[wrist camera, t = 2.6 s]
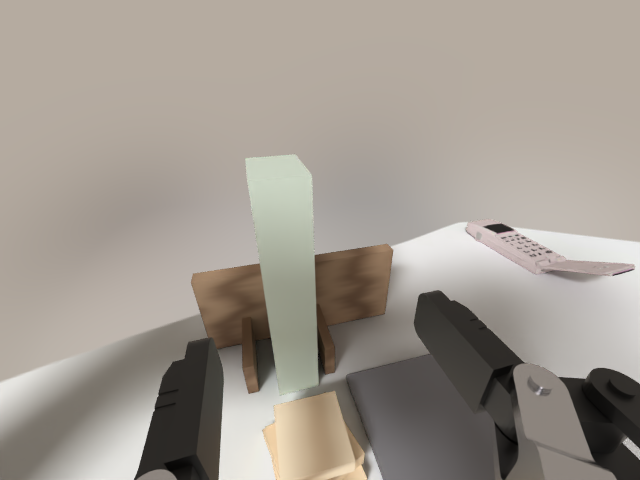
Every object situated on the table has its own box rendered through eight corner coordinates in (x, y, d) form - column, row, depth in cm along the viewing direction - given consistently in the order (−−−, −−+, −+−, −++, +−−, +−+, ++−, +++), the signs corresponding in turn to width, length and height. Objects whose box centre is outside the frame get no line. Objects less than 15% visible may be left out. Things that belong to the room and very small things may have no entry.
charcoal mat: (420, 580, 17) (421, 577, 17) (346, 378, 29) (346, 374, 29) (591, 504, 20) (595, 501, 20) (461, 349, 32) (462, 345, 32)
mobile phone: (610, 275, 34) (462, 202, 55) (587, 310, 37) (454, 228, 58) (640, 266, 36) (486, 199, 57) (616, 301, 39) (477, 224, 60)
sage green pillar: (279, 395, 28) (247, 181, 17) (273, 347, 33) (245, 158, 22) (318, 385, 29) (311, 175, 18) (306, 340, 34) (295, 154, 23)
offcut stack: (282, 532, 19) (276, 507, 17) (264, 436, 25) (257, 407, 23) (369, 486, 22) (373, 458, 19) (334, 406, 27) (335, 377, 25)
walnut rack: (206, 404, 27) (179, 332, 22) (213, 340, 34) (193, 273, 29) (410, 353, 32) (425, 284, 27) (379, 306, 38) (387, 243, 33)
